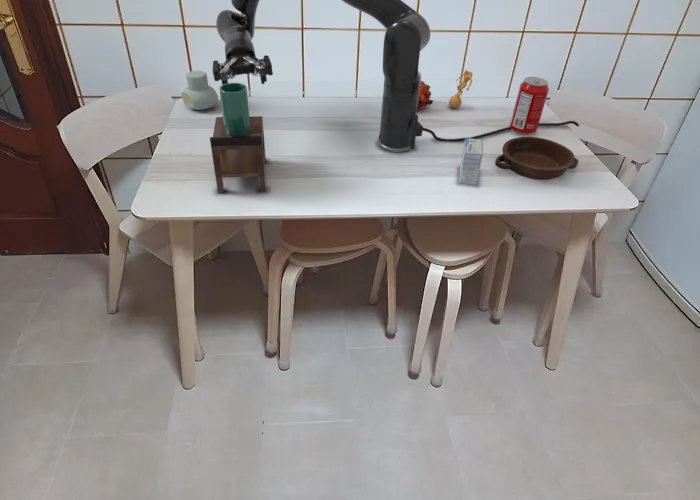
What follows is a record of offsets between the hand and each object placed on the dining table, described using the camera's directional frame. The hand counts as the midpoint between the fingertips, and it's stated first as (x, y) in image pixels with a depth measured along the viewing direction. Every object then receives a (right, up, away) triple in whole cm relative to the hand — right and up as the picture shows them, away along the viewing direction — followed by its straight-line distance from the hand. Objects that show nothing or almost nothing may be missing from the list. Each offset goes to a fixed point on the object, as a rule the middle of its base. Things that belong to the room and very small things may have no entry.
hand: (244, 82), depth 119 cm
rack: (-1, -22, +4) cm, 22 cm away
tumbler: (-1, -12, -3) cm, 13 cm away
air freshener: (-21, +4, +35) cm, 40 cm away
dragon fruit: (+46, +6, +41) cm, 62 cm away
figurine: (+59, +6, +42) cm, 73 cm away
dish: (+73, -18, +13) cm, 77 cm away
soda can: (+76, -4, +30) cm, 82 cm away
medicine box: (+55, -21, +8) cm, 59 cm away
